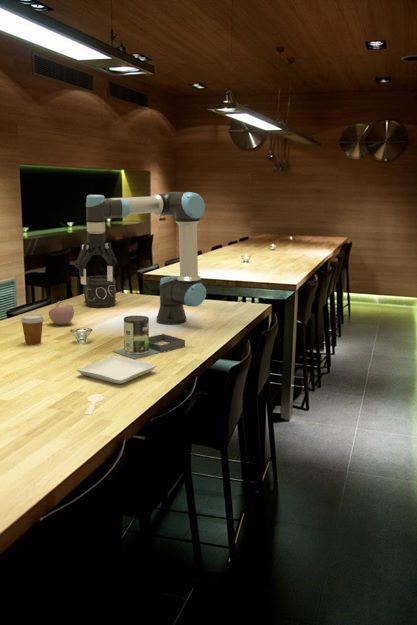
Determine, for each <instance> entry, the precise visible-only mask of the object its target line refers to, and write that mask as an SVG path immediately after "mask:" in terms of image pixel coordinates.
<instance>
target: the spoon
mask: <svg viewBox="0 0 417 625" xmlns="http://www.w3.org/2000/svg"><path fill="white" fill-rule="evenodd" d="M104 399H105V397H104V396H103V395H102V394H100V393H96V394H91V395H89V396H88V397H87V398H86V401H87V402H89V403H90V405H89V406H88V407H87V409H86V411H85V412H84V415H86V416H90V415H93V414H94V410H95V407H96V403H99V402H102V401H103V400H104Z"/></svg>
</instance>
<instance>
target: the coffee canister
mask: <svg viewBox="0 0 417 625" xmlns="http://www.w3.org/2000/svg"><path fill="white" fill-rule="evenodd" d="M116 283H117V280H116V279H115V277H113V281H107V275H95V276H93V275H92V276H86V285H84V288H83V293H84V295H83V296H84V304H85V305H86V306H85V307H88V308H94V309H105V308H106V309H108V308H112V307H114V306H115V303H116V302H117V300H116V297H117V293H118V290H117V289H116V288H117V286H116Z"/></svg>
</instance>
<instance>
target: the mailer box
mask: <svg viewBox="0 0 417 625" xmlns="http://www.w3.org/2000/svg"><path fill="white" fill-rule="evenodd" d="M159 342H165V343H164V344H159ZM166 342H167V343H166ZM169 342H170V343H169ZM183 346H185V347H186V340H185V339H183V338H179V337H175V336H172V335H169V334H165V333H161V334H157V335H153V336H149V352H147V353H145V354H128V353H125V352H124V348H118V349H116V350H112V353H113V354H114V353H115V354H117V355H121V356H122V357H125V358H129V359H134V360H137V359H139V358H144V357H148V356H152V355H157V354H160V352H161V353H165V352H168V350H169V351H172V349H173V350H176V348H178V349H180V348H179V347H182V348H184V347H183ZM164 351H165V352H164Z"/></svg>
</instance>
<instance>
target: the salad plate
mask: <svg viewBox="0 0 417 625" xmlns="http://www.w3.org/2000/svg"><path fill="white" fill-rule="evenodd" d="M156 367H157V365H156V364H153V363H149V362H144V361H142V360H137V359H132V358H129V357H125V356H119V355H111V356H109V357H105V358H103V359H100V360H98V361H95V362H93V363H90V364H87V365H84V366H82V367H79V368H77V369H76V371H77V372H78V373H79V374H81V375H83V376H85V377H90V378H94V379H98V380H101V381H106V382H109V383H114V384H119V385H120V384H124V383H127V382H129V381H131V380H134V379H136V378H139V377H140V376H143V375H145V374H148V373H150V372H151V371H153V370H154V369H155V368H156ZM138 376H139V377H138Z"/></svg>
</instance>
